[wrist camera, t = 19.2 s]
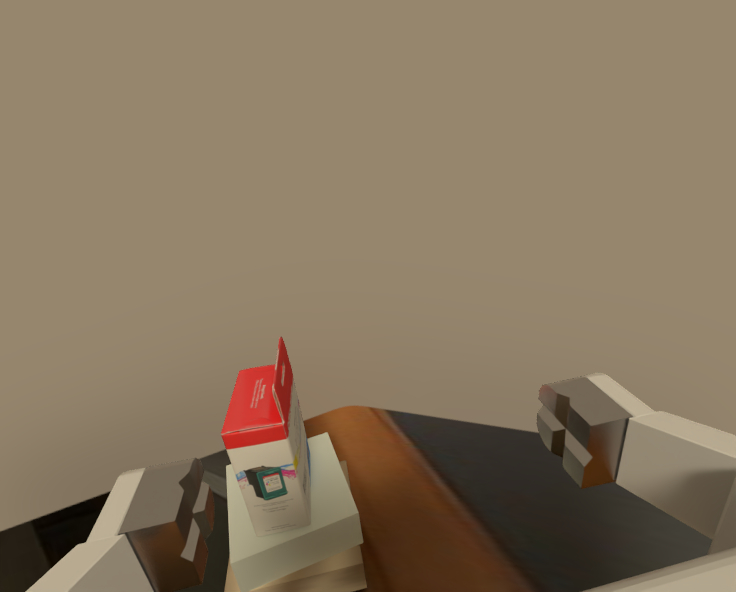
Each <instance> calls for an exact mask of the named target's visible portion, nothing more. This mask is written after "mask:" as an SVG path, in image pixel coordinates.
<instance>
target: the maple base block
mask: <svg viewBox="0 0 736 592" xmlns="http://www.w3.org/2000/svg"><path fill="white" fill-rule="evenodd" d="M339 464H340V466H341V469H342V471H343V474H344V476H345V479H346V482H347V484H348V487H349V489H350V492H351V488H350V482H349V476H348V470H347V464H346V461H341V462H339ZM364 588H367V584H366V578H365V572H364V566H363V560H362V554H361V548H360V544H359V545H357V546H354V547H352V548H350V549H347V550H345V551H343V552H340V553H338V554H336V555H333V556H331V557H328V558H326V559H324V560H321V561H319V562H317V563H314V564H312V565H310V566H307V567H305V568H302V569H300V570H298V571H295V572H293V573H291V574H288V575H286V576H284V577H281V578H279V579H277V580H274V581H272V582H269V583H267V584H265V585H262V586H260V587H258V588H255V589H253V590H251V591H248V592H353V591H357V590H360V589H364ZM225 592H241V591H240V588H239V586H238V583H237V580H236V578H235V575H234V572H233V570H232V567H231V564H230V557H229V564H228V571H227V578H226V585H225Z"/></svg>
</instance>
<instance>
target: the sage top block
mask: <svg viewBox="0 0 736 592" xmlns="http://www.w3.org/2000/svg"><path fill="white" fill-rule="evenodd" d="M307 441H308V446H309V450H310V478H311V524H310V525H309V526H305V527H300V528H296V529H292V530H287V531H283V532H278V533H274V534H269V535H265V536H260V537H257V536H256V534H255V531H254V527H253V525H252V522H251V519H250V516H249V513H248V510H247V507H246V504H245V501H244V498H243V495H242V493H241V490H240V487H239V484H238V481H237V478H236V475H235V473H234V470H233V467H232V464H230V465H227V466H226V473H227V497H228V521H229V545H230V564H231V567H232V570H233V572H234V575H235V578H236V580H237V583H238V586H239V588H240V591H241V592H248V591H251V590H253V589H255V588H258V587H260V586H262V585H265V584H267V583H269V582H272V581H274V580H277V579H279V578H281V577H284V576H286V575H288V574H291V573H293V572H295V571H298V570H300V569H302V568H305V567H307V566H310V565H312V564H314V563H317V562H319V561H321V560H324V559H326V558H328V557H331V556H333V555H336V554H338V553H340V552H343V551H345V550H347V549H350V548H352V547H354V546H357V545H359V544H362V543H364V542H363V536H362V530H361V524H360V518H359V512H358V510H357V507H356V505H355V502H354V499H353V497H352V494H351V492H350V489H349V487H348V484H347V482H346V479H345V476H344V474H343V471H342V469H341V466H340V464H339V461H338V458H337V456H336V453H335V451H334V448H333V446H332V443H331V441H330V438H329V435H328V433H327V432H326V433H323V434H320V435H317V436H314V437H311V438H308V439H307Z"/></svg>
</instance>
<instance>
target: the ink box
mask: <svg viewBox="0 0 736 592" xmlns="http://www.w3.org/2000/svg"><path fill="white" fill-rule="evenodd" d="M221 436H222V438H223V441H224V444H225V447H226V450H227V452H228V455H229V458H230V461H231V464H232V467H233V470H234V473H235V475H236V478H237V481H238V484H239V487H240V490H241V493H242V495H243V498H244V501H245V504H246V507H247V510H248V513H249V516H250V519H251V522H252V525H253V527H254V531H255V534H256V536H257V537H260V536H265V535H269V534H274V533H278V532H283V531H287V530H292V529H296V528H300V527H305V526H309V525H310V524H311V478H310V450H309V446H308V441H307V437H306V433H305V428H304V423H303V419H302V415H301V411H300V406H299V401H298V396H297V392H296V387H295V383H294V378H293V374H292V369H291V365H290V362H289V358H288V355H287V351H286V347H285V344H284V341H283V339H282V337H280V338H279V345H278V352H277V358H276V364H275V365H267V366H261V367H255V368H250V369H246V370H241V371H239V374H238V377H237V381H236V384H235V388H234V391H233V394H232V398H231V401H230V404H229V408H228V411H227V415H226V418H225V422H224V425H223V429H222V432H221Z"/></svg>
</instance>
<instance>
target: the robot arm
mask: <svg viewBox="0 0 736 592" xmlns="http://www.w3.org/2000/svg"><path fill="white" fill-rule="evenodd" d="M539 400H540V401H541V402H542V403H543V406H542V408H541V409H540V410H539V412H538V413H537V427H538V431H539V434H540V437H541V439H542V441H543V442H544V444H545V445H546V447H547V448H548V449H549V450H550V452H552V453H554V454H556V455H558V456H560V457H562V466H563V468H564V469H565V470H566V471H567V472H568V474H569V475H570V476H571V477H572V478H573V480H574V481H575V482H576V483H577V484H578V486H579V487H580V488H581V489H583V488H587V487H592V486H597V485H601V484H606V483H610V482H615V481H616V484H618V485H620V486H621V487H623V488H625V489H627V490H628V491H630V492H632V493H633V494H635V495H637V496H639V497H640V498H642V499H644V500H645V501H647V502H649V503H651V504H652V505H654V506H656V507H657V508H659V509H661V510H663V511H664V512H666V513H668V514H669V515H671V516H673V517H675V518H676V519H678V520H680V521H681V522H683V523H685V524H687V525H688V526H690V527H692V528H693V529H695V530H697V531H699V532H700V533H702V534H704V535H705V536H707V537H709V538H711V539H712V543H711V546H710V549H709V551H708V554H707V556H703V557H700V558H697V559H693V560H690V561H686V562H683V563H679V564H676V565H672V566H669V567H665V568H662V569H658V570H655V571H651V572H648V573H644V574H641V575H637V576H634V577H630V578H627V579H624V580H620V581H617V582H613V583H610V584H606V585H603V586H599V587H596V588H592V589H589V590H585V591H582V592H736V435H733V434H730V433H727V432H724V431H721V430H718V429H715V428H712V427H709V426H706V425H703V424H700V423H697V422H694V421H690V420H687V419H685V418H682V417H678V416H676V415H673V414H669V413H666V412H663V411H660V412H655V411H653V410H652V409H651V408H649V407H648V406H647V405H646V404H644V403H643V402H642V401H640V400H639V399H637V398H636V397H635V396H633V395H632V394H631V393H630V392H628V391H627V390H626V389H624V388H623V387H622V386H620V385H619V384H618V383H617V382H615V381H614V380H612V379H611V378H610V377H608V376H607V375H606V374H603V373H600V372H598V373H593V374H589V375H584V376H580V377H578V378H573V379H568V380H563V381H559V382H554V383H550V384H545V385H542V387H541V388H540V390H539ZM203 473H204V469H203V467H202V464H201V462H200V459H197V458H193V459H187V460H182V461H177V462H171V463H166V464H161V465H155V466H150V467H148V468H142V469H136V470H131V471H125V472H124V473H122V474H121V475H120V476H119V477H118V479H117V481H116V483H115V485H114V487H113V489H112V491H111V493H110V495H109V497H108V499H107V501H106V503H105V505H104V507H103V509H102V511H101V513H100V515H99V517H98V519H97V521H96V523H95V525H94V527H93V529H92V531H91V533H90V536H89V538H88V540H87V542H86V543H83V544H78V545H77V546H76V547H75V548H73V549H72V550H71V551H70V552H69V553H68V554H67V555H66V556H65V557H64V558H62V559H61V560H60V561H59V562H58V563H57V564H56V565H55V566H54V567H53V568H51V569H50V570H49V571H48V572H47V573H46V574H45V575H44V576H43V577H41V578H40V579H39V580H38V581H37V582H36V583H35V584H34V585H33V586H32V587H30V588H29V589H28V590H27V591H26V592H174V591H178V590H181V589H185V588H189V587H192V586H196V585H199V584H202V581H203V576H204V570H205V565H206V560H207V555H208V550H207V547H206V544H205V542H204V540H205V539H206V538H207V537H208V536H209V534H210V533H211V532H212V528H213V522H214V501H213V495H212V491H211V489H210V486H209V485H208V484H206V483H204V482H203V481H202V478H203Z"/></svg>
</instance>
